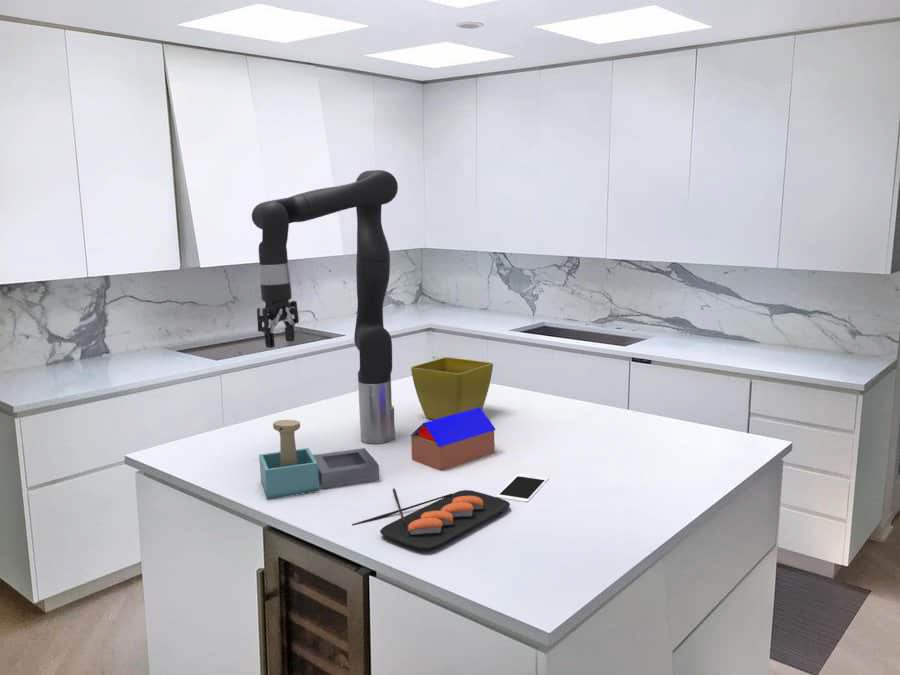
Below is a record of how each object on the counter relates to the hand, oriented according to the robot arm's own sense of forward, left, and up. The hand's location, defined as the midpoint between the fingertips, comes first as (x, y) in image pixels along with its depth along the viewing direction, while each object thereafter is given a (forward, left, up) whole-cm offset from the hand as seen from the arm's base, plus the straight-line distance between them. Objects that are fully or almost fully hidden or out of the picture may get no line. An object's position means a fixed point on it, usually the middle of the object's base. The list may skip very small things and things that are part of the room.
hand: (280, 344), depth 195 cm
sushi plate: (-21, +47, -32) cm, 61 cm away
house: (-41, +15, -32) cm, 54 cm away
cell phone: (-48, +43, -32) cm, 72 cm away
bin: (+3, +20, -31) cm, 37 cm away
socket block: (-11, +18, -31) cm, 38 cm away
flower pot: (-54, -19, -32) cm, 66 cm away
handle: (+2, +19, -31) cm, 36 cm away
